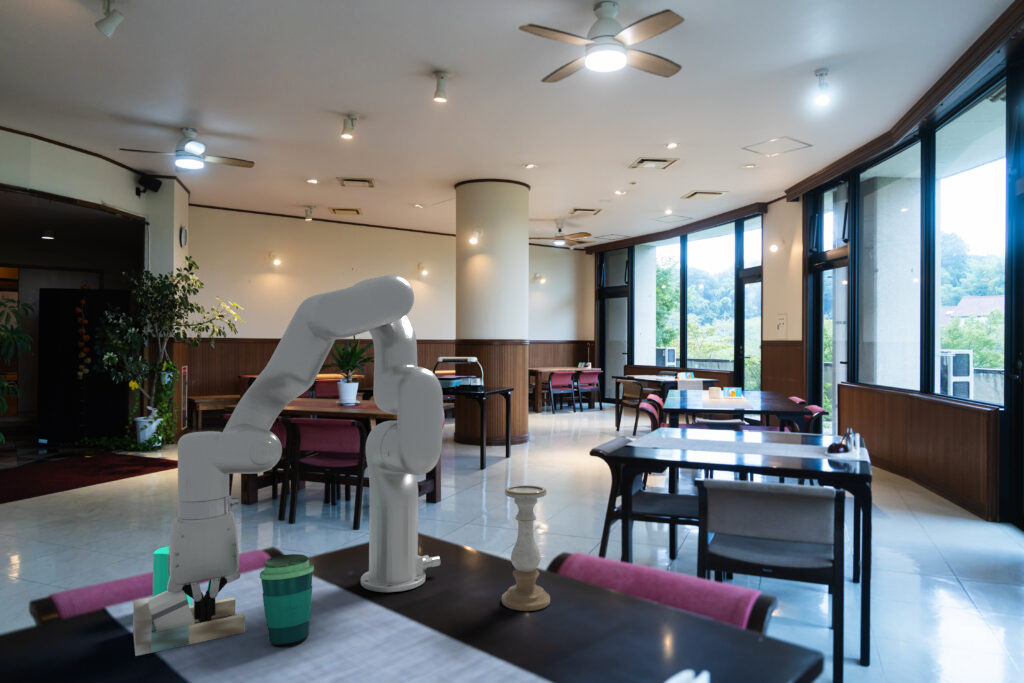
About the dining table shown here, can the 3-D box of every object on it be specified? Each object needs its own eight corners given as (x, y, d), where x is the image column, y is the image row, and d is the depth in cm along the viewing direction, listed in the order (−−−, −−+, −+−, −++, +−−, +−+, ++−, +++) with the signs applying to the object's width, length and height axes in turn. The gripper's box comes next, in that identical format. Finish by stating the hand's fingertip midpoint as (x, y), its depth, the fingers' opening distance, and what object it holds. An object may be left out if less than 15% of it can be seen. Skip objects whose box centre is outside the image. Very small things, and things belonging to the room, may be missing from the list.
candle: (173, 618, 106) (175, 546, 106) (143, 615, 107) (145, 544, 108) (198, 604, 112) (199, 537, 112) (169, 602, 113) (170, 535, 113)
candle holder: (493, 607, 110) (493, 491, 111) (512, 590, 119) (512, 483, 119) (540, 614, 107) (540, 495, 108) (556, 597, 115) (556, 486, 116)
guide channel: (234, 611, 108) (234, 582, 109) (244, 632, 100) (245, 600, 100) (133, 632, 100) (133, 600, 100) (135, 656, 92) (136, 621, 92)
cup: (261, 653, 93) (262, 571, 93) (256, 632, 100) (257, 556, 100) (317, 642, 97) (318, 563, 97) (308, 623, 104) (309, 550, 104)
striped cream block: (193, 617, 103) (182, 583, 102) (197, 628, 99) (185, 593, 98) (159, 633, 100) (147, 599, 99) (161, 645, 96) (149, 609, 95)
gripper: (248, 497, 109) (249, 603, 109) (149, 510, 101) (150, 625, 100) (257, 506, 103) (258, 618, 102) (153, 520, 95) (153, 642, 94)
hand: (204, 621), depth 101 cm, fingers closed
